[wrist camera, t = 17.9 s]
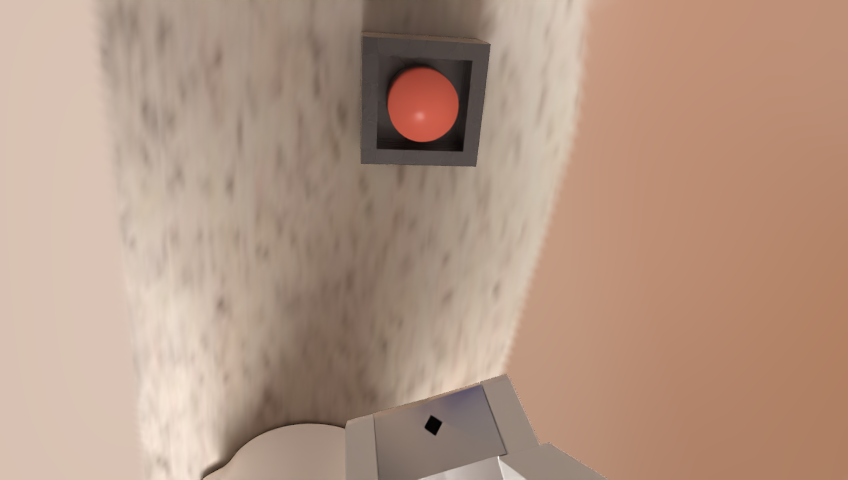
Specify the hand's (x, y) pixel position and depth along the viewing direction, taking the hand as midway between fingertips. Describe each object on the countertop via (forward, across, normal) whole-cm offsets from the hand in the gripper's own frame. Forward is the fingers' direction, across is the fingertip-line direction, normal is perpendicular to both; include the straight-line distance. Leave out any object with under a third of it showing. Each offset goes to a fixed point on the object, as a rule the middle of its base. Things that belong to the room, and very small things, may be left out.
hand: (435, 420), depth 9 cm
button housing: (+25, -4, -1) cm, 25 cm away
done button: (+24, -3, -1) cm, 24 cm away
